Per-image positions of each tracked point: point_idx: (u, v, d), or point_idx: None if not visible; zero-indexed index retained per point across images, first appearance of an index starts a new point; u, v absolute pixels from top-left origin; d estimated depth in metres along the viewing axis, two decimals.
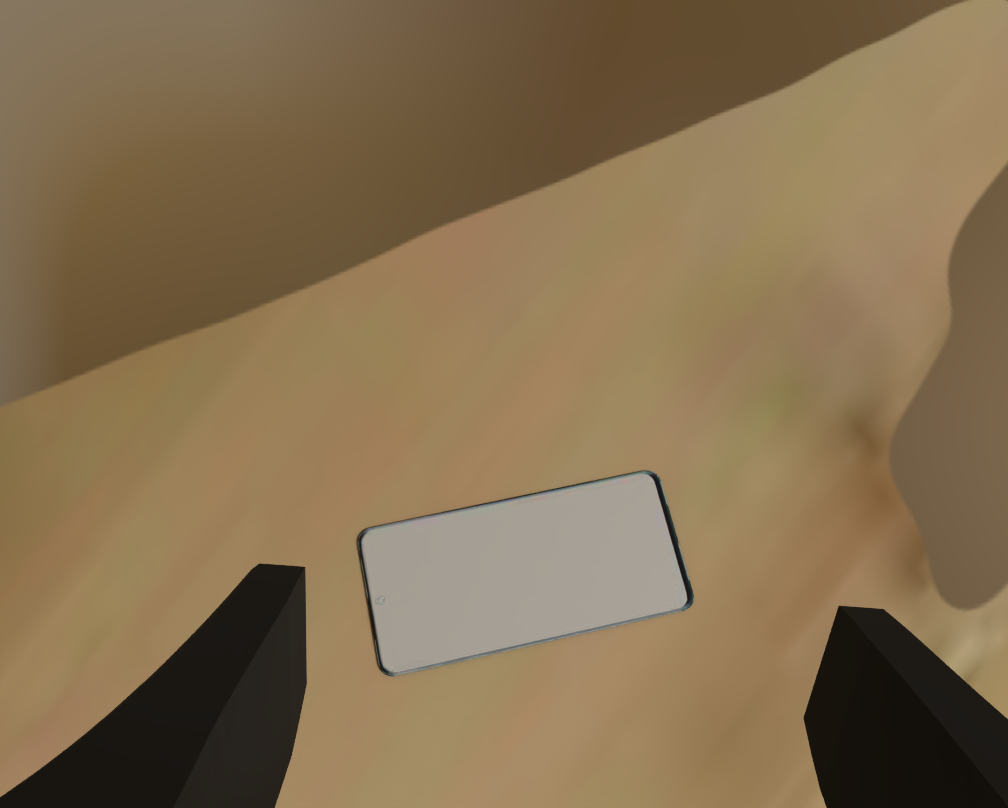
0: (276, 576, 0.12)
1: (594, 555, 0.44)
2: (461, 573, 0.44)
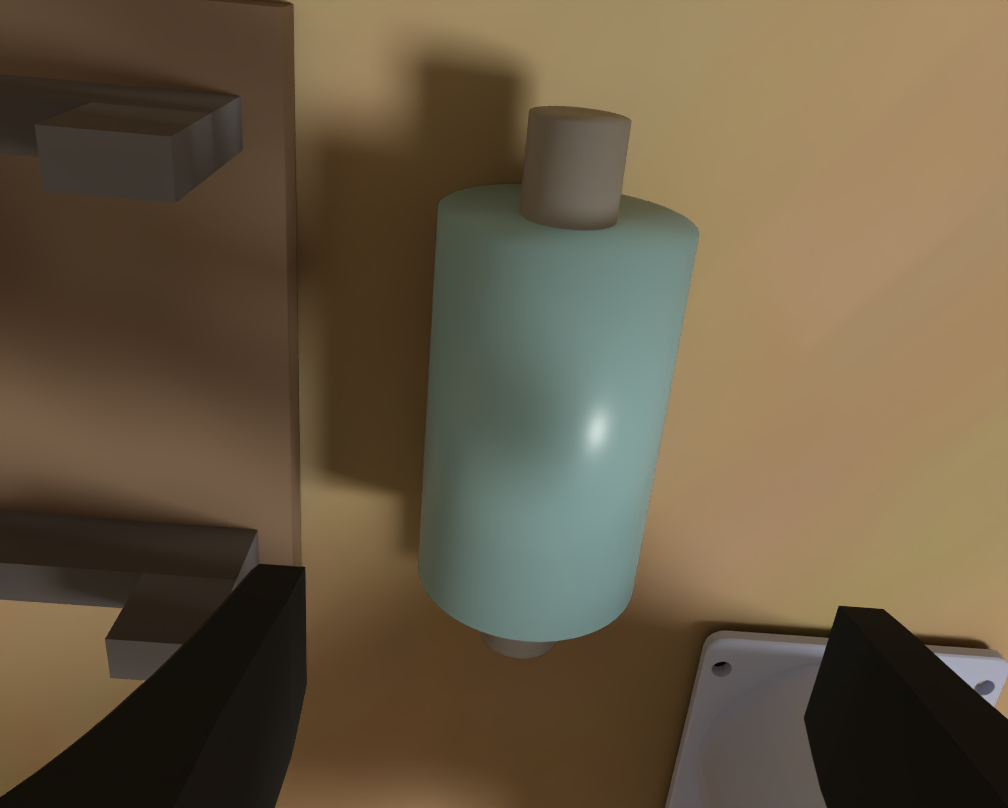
0: (276, 576, 0.12)
1: None
2: None
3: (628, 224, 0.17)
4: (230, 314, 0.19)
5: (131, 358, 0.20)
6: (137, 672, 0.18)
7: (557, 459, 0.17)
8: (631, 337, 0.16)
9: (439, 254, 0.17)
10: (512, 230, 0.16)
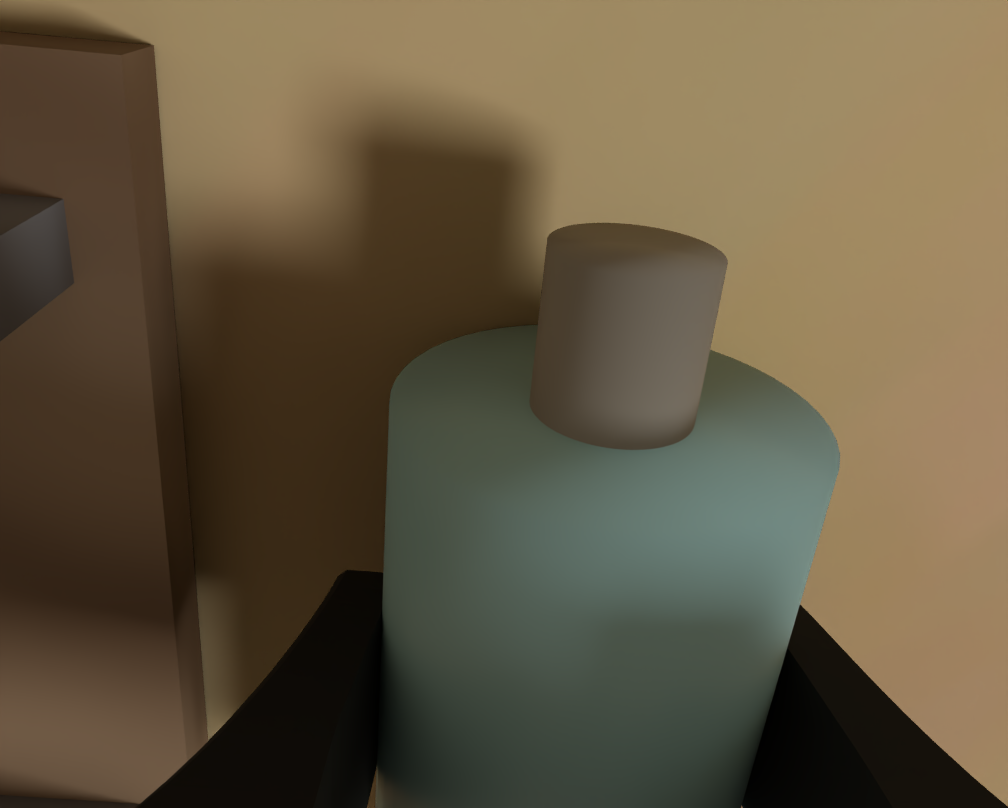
0: (366, 583, 0.12)
1: None
2: None
3: (713, 425, 0.10)
4: (75, 522, 0.12)
5: None
6: None
7: None
8: (732, 651, 0.09)
9: (392, 483, 0.10)
10: (519, 461, 0.09)
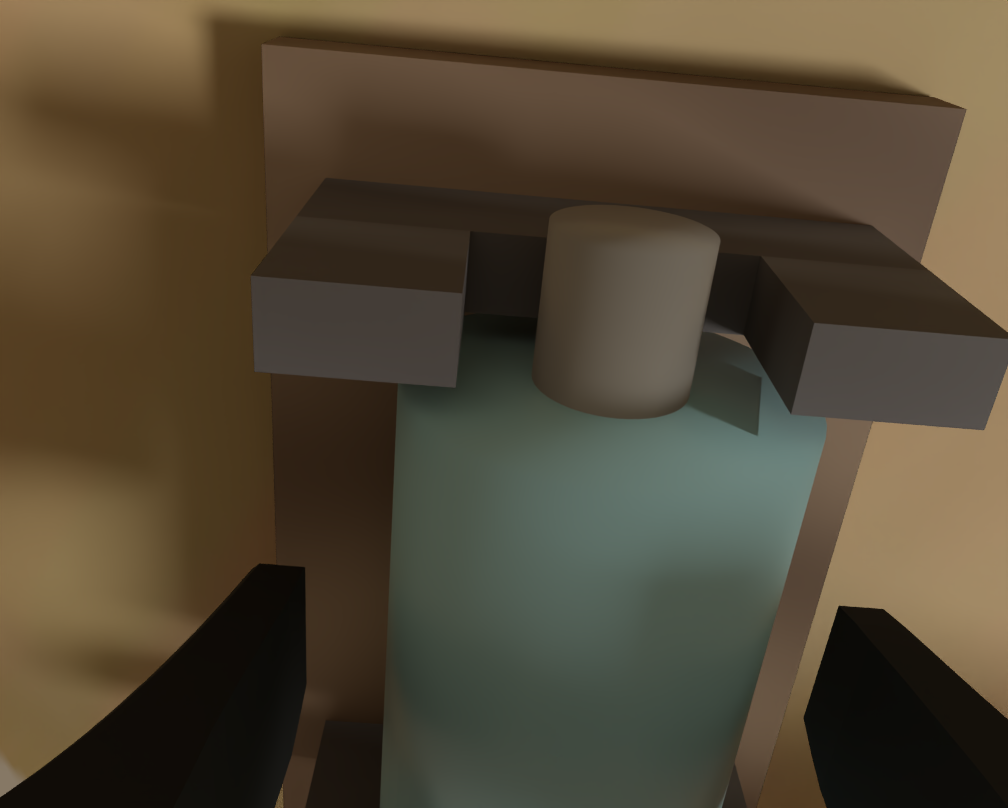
0: (276, 575, 0.12)
1: None
2: None
3: (707, 398, 0.10)
4: None
5: None
6: None
7: (594, 788, 0.10)
8: (723, 608, 0.09)
9: (400, 451, 0.10)
10: (521, 428, 0.09)
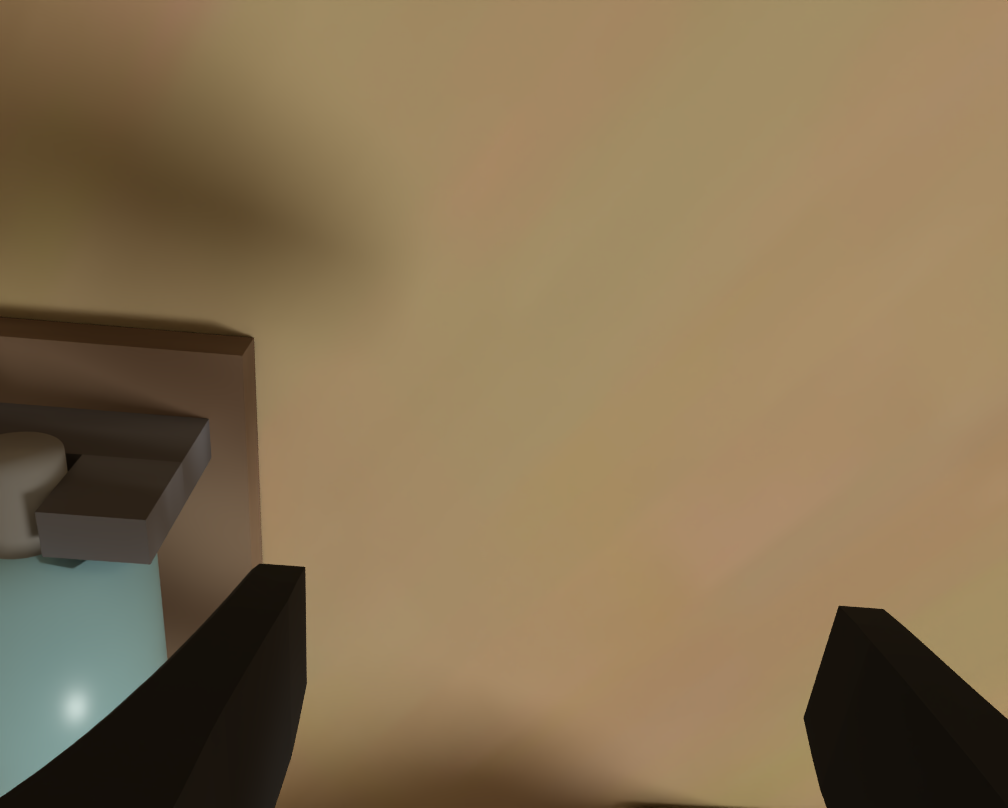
0: (276, 576, 0.12)
1: None
2: None
3: None
4: (203, 578, 0.22)
5: None
6: None
7: None
8: (141, 613, 0.19)
9: None
10: (2, 583, 0.17)
